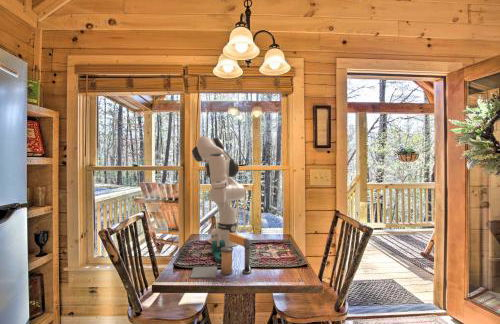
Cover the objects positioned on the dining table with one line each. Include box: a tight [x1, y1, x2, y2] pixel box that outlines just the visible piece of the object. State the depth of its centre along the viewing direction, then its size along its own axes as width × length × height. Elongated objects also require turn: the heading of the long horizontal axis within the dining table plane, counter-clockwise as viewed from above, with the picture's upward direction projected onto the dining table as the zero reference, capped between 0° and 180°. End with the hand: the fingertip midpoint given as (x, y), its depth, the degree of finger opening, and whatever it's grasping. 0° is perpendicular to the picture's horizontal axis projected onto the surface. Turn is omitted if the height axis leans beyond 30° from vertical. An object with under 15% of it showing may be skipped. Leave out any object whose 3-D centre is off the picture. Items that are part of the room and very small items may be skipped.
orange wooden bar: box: [229, 233, 251, 249], centre depth 144 cm, size 16×3×4 cm, turn 40°
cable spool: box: [220, 246, 234, 276], centre depth 139 cm, size 6×6×12 cm
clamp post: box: [241, 247, 252, 275], centre depth 140 cm, size 4×4×12 cm
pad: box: [189, 266, 218, 280], centre depth 139 cm, size 12×12×1 cm
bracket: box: [211, 240, 225, 263], centre depth 161 cm, size 18×7×8 cm, turn 16°
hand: (223, 210), depth 146 cm, fingers closed
